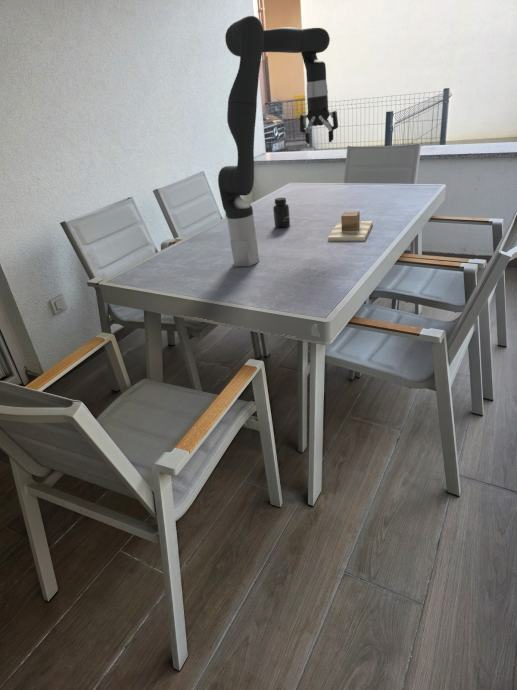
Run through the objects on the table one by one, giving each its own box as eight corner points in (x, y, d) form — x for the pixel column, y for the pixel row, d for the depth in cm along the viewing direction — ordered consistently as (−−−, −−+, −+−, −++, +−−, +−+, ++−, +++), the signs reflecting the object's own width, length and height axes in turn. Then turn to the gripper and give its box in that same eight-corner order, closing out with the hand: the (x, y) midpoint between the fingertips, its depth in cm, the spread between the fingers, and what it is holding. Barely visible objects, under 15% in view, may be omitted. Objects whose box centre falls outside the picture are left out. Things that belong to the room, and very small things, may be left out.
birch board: (364, 240, 166) (364, 236, 165) (328, 241, 171) (327, 237, 170) (372, 224, 181) (372, 220, 181) (338, 225, 187) (338, 221, 186)
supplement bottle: (289, 228, 192) (286, 200, 186) (273, 229, 194) (270, 201, 187) (291, 223, 198) (288, 196, 192) (276, 224, 199) (273, 197, 193)
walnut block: (357, 230, 172) (356, 215, 169) (341, 231, 174) (341, 215, 171) (359, 226, 177) (359, 211, 174) (344, 226, 179) (344, 211, 176)
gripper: (295, 98, 162) (299, 146, 171) (334, 93, 157) (335, 142, 165) (301, 96, 168) (304, 142, 177) (338, 92, 163) (340, 139, 171)
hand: (319, 142), depth 171 cm, fingers open, 8 cm apart
